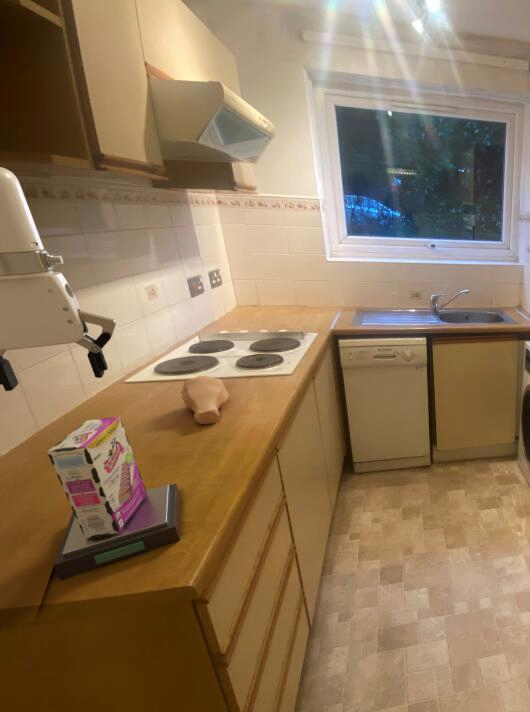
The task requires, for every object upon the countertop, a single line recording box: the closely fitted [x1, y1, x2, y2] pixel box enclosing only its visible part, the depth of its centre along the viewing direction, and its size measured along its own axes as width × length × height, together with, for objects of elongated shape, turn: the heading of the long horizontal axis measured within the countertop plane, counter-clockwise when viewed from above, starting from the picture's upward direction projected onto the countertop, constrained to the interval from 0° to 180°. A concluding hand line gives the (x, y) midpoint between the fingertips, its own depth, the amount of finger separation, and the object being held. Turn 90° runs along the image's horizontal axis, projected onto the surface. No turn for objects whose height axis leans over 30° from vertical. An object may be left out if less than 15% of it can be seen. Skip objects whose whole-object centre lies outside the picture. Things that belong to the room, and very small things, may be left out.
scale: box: [53, 483, 181, 580], centre depth 76 cm, size 15×16×3 cm
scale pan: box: [62, 484, 170, 558], centre depth 75 cm, size 13×13×1 cm
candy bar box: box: [46, 416, 147, 539], centre depth 72 cm, size 11×5×16 cm, turn 18°
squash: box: [180, 375, 230, 425], centre depth 119 cm, size 11×20×9 cm, turn 37°
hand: (58, 381), depth 66 cm, fingers open, 9 cm apart
